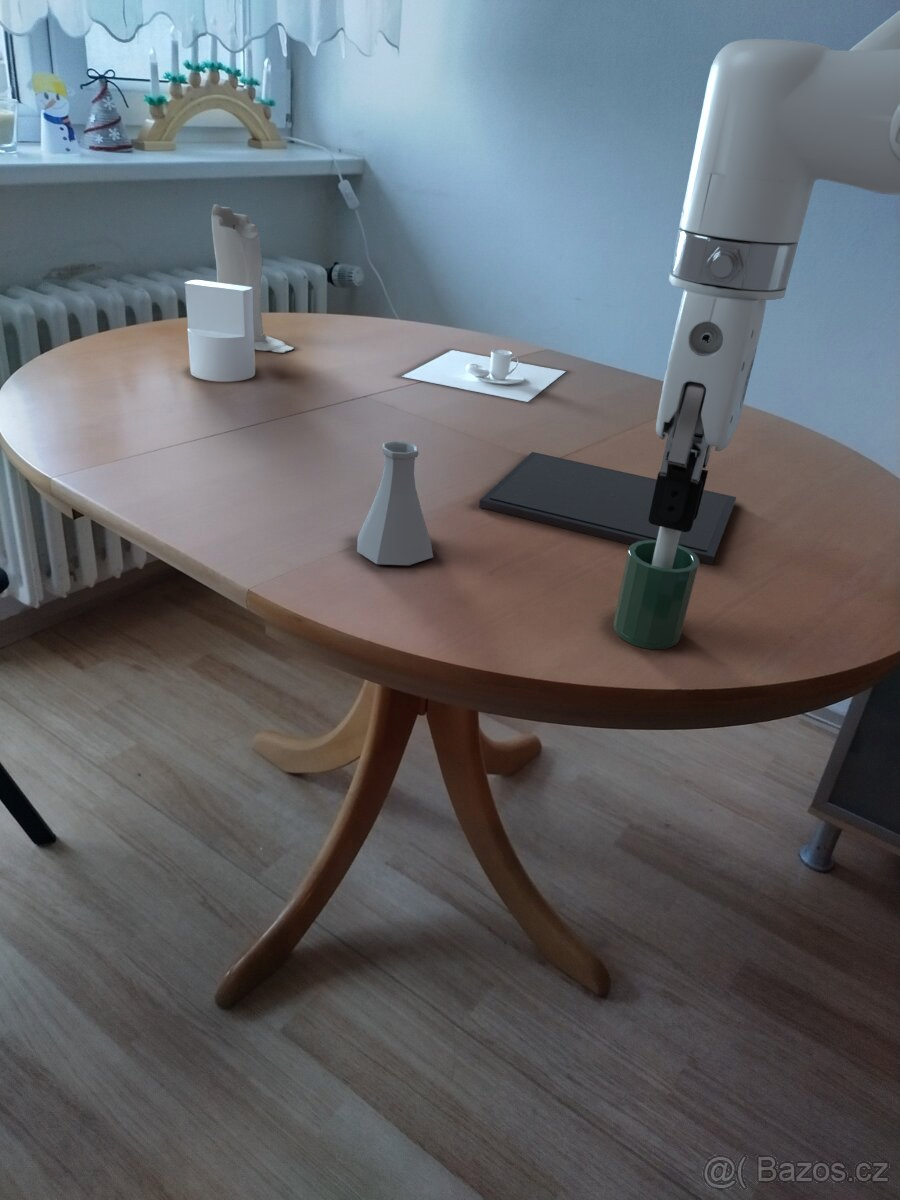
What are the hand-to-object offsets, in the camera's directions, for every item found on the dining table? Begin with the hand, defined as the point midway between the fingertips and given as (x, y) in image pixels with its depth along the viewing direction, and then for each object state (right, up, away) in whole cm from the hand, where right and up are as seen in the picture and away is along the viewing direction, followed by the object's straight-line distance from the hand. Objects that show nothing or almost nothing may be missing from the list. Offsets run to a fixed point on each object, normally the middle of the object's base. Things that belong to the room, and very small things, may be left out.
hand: (672, 519), depth 65 cm
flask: (-22, -2, +14) cm, 26 cm away
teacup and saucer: (-11, +29, +69) cm, 76 cm away
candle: (-48, +35, +74) cm, 95 cm away
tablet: (0, +4, +27) cm, 28 cm away
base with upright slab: (-49, +26, +58) cm, 81 cm away
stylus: (-1, -8, +5) cm, 10 cm away
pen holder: (-1, -9, +5) cm, 10 cm away
